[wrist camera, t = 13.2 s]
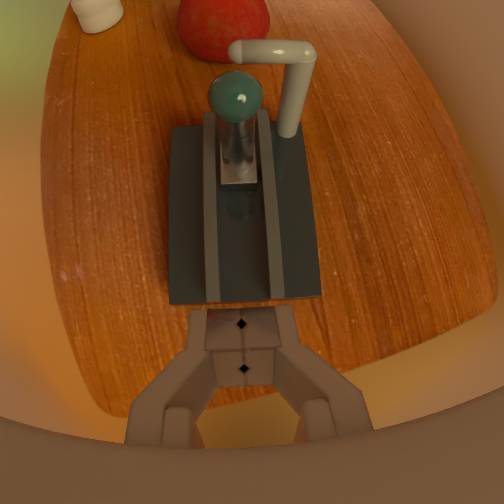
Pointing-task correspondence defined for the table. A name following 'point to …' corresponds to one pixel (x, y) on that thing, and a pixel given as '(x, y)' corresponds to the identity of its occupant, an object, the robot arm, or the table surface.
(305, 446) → the robot arm
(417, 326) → the table surface
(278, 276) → the tap base
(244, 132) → the tap handle
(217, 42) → the apple
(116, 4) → the water bottle
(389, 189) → the table surface
